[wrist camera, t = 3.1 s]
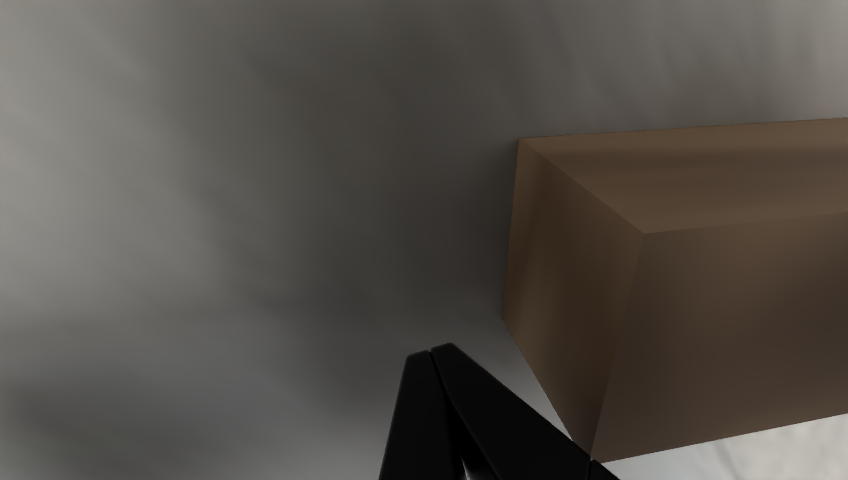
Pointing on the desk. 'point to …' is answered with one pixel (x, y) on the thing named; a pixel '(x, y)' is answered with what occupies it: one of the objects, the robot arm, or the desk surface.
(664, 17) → the desk surface
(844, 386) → the brown wooden block
